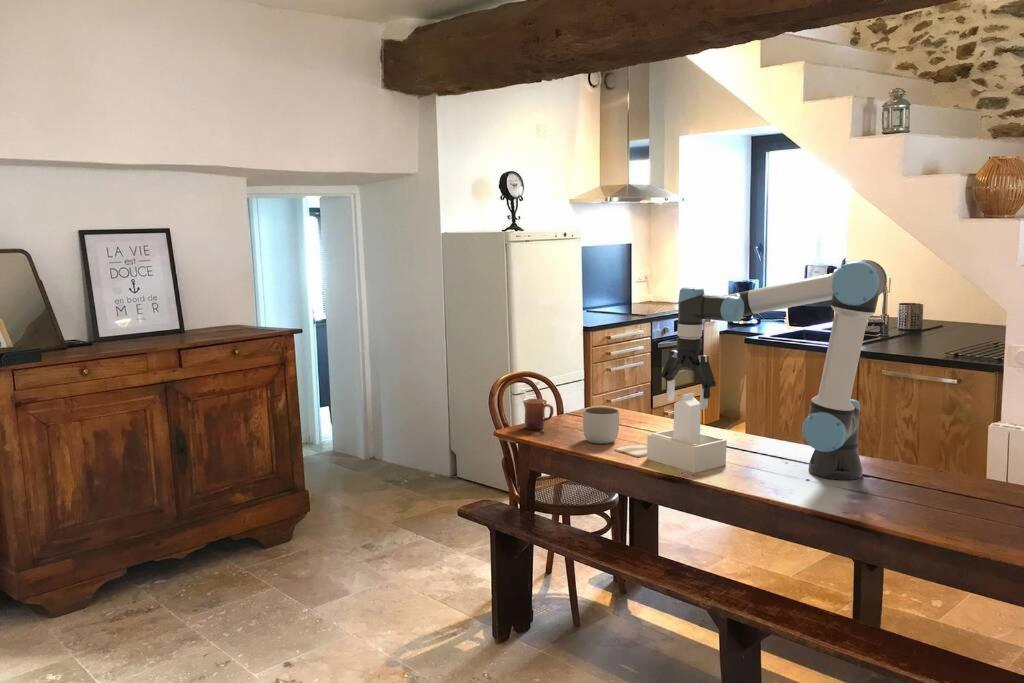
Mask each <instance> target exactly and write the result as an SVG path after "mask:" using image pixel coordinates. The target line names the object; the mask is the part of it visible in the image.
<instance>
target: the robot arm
mask: <svg viewBox="0 0 1024 683" xmlns="http://www.w3.org/2000/svg"><path fill="white" fill-rule="evenodd" d="M887 278H888V275H887V273H886V271H885V269H884V268H883V266H881V265H880V263H878V262H877V261H874V260H870V259H861V260H859V259H857V260H856V259H855V260H850V261H847V262H846V263H844V264H842V265H841V266H840V267H839V268H835V269H834V270H833V272H832V273H829V274H824V275H818V276H813V277H807V278H804V279H798V280H794V281H788V282H784V283H779V284H774V285H769V286H764V287H760V288H755V289H750V290H745V291H739V292H734V293H731V294H724V295H710V294H706V293H705V289H704V288H702V287H695V286H694V287H690V286H689V287H688V286H687V287H682V288H680V289H679V292H678V293H679V294H678V302H677V303H678V305H677V306H678V309H677V310H678V311H677V312H678V313H677V314H678V315H677V329H676V330H677V332H676V336H677V338H676V349H672V350H669V355H668V358H667V361H666V363H665V366H664V367H663V370H662V372H661V373H660V377H661V378H662V379H664V380H665V391H666V402H674V401H675V392H676V391H675V388H676V386H675V385H676V380H675V377H676V376H677V374H678V373H679V372H680V371H681V370H682V369H683V368H689V369H691V370H692V371H693V372H694V374H695V375H696V377H697V380H698V381H699V382H700V384H701V386H702V387H700V393H699V394H700V396H699V397H700V398H699V402H700V409H701V410H705V409H708V405H709V402H708V401H709V399H710V398H711V397H710V396H711V394H710V393H711V389H712V388H715V387H716V386H717V383H716V380H715V377H714V374H713V371H712V366H711V365H710V360H709V359H710V357H709V355H708V354H707V355H706V354H703V355H701V350H702V348H703V347H702V346H703V345H702V344H703V339H702V338H701V337H702V336H703V324H704V322H703V321H704V320H707V321H708V320H710V321H719V322H720V321H721V322H727V323H731V322H732V323H733V322H735V323H736V322H737V323H738V322H740V321H741V320H742V318H743V317H745V316H751V315H755V314H761V313H767V312H771V311H778V310H783V309H788V308H792V307H799V306H804V305H805V306H806V305H810V304H816V303H820V302H827V301H830V302H831V303H830V307H831V309H832V310H833V312H834V317H833V321H832V326H831V331H830V336H829V340H828V344H827V349H826V350H827V351H826V355H825V359H824V365H823V370H822V375H821V379H820V384H819V389H818V393H817V395H815V396H814V397H812V398H811V399H810V405H809V409H808V414H807V416H806V417H805V418H804V421H803V423H802V427H801V432H802V437H803V438H804V440H805V442H806V443H807V445H808V446H810V447H811V448H812V449H814V450H813V452H812V455H811V457H810V460H809V462H808V472H809V473H810V474H812V475H814V476H817V477H819V478H821V477H822V478H824V479H831V480H840V481H849V480H857V479H860V478H862V477H863V472H864V471H863V469H864V468H863V466H862V462H861V458H860V453H859V450H858V444H859V431H860V430H859V429H860V415H861V414H860V413H861V405H860V404H861V403H860V402H859V401H858V400H856V399H853V398H851V397H852V395H853V394H852V393H853V389H854V384H855V380H856V379H855V378H856V375H857V369H858V364H859V361H860V356H861V352H862V347H863V342H864V337H865V334H866V328H867V323H868V319H869V318H870V317H871V316H873V315H875V314H876V310H877V305H878V301H879V296H880V295H881V294H883V292H884V290H885V289H886V286H887V282H888V279H887Z"/></svg>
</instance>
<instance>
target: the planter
mask: <svg viewBox="0 0 1024 683" xmlns="http://www.w3.org/2000/svg"><path fill="white" fill-rule="evenodd" d="M582 417H583V418H582V428H583V431H582V432H583V435H584V438H585V440H587V441H588V442H589V443H592V444H597V445H606V444H608V445H609V444H611V443H614V442H615V441H616V440H617V438H618V436H619V431H620V410H619V409H617V408H614V407H609V406H606V407H605V406H593V407H587V408H584V409H583V410H582Z"/></svg>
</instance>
